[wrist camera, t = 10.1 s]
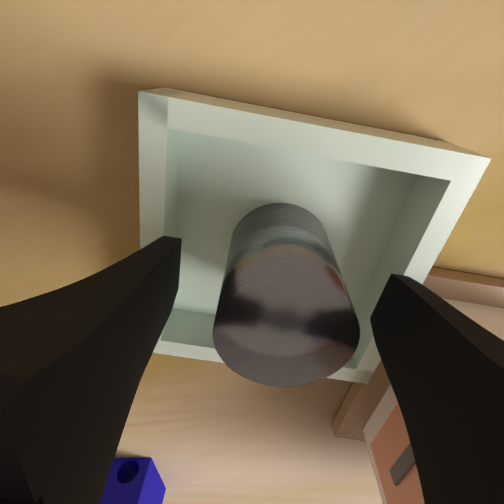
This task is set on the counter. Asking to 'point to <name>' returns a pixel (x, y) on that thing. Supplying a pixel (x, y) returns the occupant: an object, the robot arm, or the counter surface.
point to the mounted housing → (384, 400)
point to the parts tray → (291, 201)
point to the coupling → (283, 300)
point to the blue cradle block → (133, 482)
